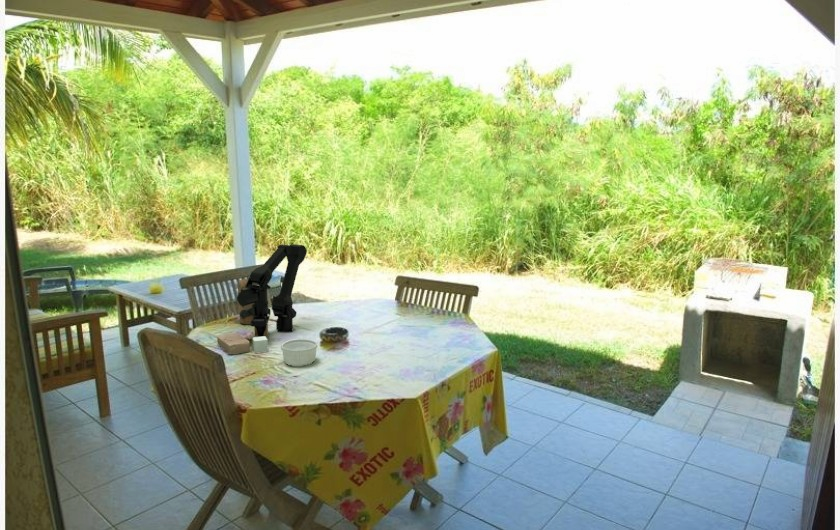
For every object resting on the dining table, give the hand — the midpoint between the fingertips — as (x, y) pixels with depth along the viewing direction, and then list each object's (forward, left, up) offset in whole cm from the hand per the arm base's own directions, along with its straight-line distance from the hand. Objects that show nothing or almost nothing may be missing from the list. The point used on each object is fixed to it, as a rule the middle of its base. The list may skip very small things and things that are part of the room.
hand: (261, 336), depth 237 cm
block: (+9, -26, -2) cm, 28 cm away
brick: (+10, +10, -2) cm, 14 cm away
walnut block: (0, 0, -1) cm, 1 cm away
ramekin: (-17, +28, -2) cm, 33 cm away
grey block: (-1, +14, -1) cm, 14 cm away
